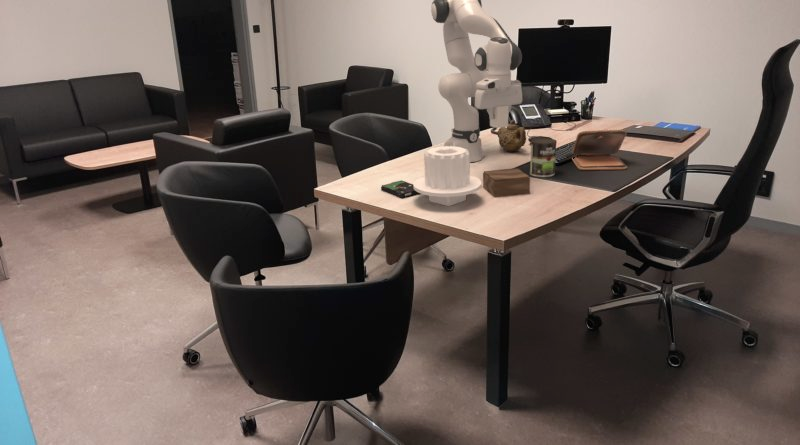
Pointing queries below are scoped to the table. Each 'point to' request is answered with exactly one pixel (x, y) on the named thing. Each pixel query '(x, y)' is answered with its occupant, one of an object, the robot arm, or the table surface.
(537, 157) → the coffee can
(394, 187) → the disk drive
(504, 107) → the white block
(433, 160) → the ribbed cylinder on disc
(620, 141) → the case
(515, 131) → the teapot
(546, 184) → the table surface
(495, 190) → the walnut box
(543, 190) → the table surface
